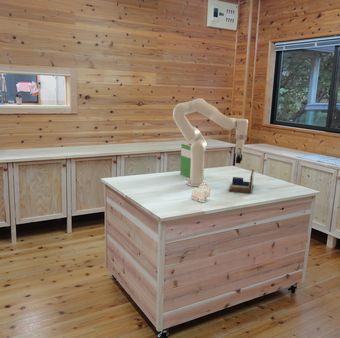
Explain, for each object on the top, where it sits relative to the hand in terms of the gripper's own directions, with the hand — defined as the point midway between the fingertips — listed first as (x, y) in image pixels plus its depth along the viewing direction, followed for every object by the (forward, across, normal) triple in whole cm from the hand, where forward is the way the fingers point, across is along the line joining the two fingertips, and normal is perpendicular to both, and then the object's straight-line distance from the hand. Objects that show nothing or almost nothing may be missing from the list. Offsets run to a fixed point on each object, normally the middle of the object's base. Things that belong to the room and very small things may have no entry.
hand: (238, 161), depth 260 cm
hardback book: (+20, -25, -39) cm, 51 cm away
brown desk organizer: (+19, -2, +3) cm, 19 cm away
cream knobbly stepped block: (+20, +34, -18) cm, 44 cm away
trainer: (+17, +2, +3) cm, 17 cm away
